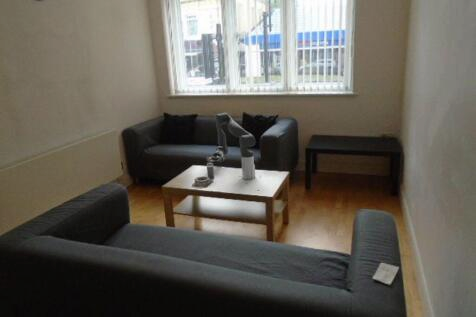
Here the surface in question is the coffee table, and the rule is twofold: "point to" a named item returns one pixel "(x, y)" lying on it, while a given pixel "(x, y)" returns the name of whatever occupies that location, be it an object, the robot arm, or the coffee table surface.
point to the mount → (202, 181)
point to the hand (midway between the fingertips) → (213, 161)
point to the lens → (210, 170)
